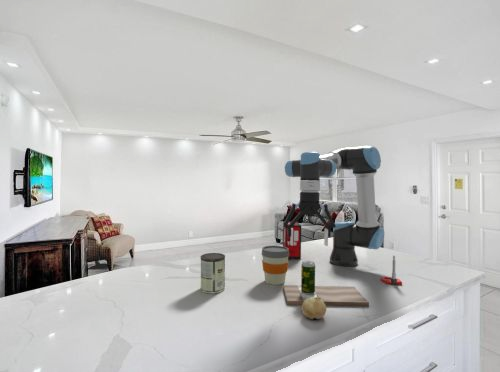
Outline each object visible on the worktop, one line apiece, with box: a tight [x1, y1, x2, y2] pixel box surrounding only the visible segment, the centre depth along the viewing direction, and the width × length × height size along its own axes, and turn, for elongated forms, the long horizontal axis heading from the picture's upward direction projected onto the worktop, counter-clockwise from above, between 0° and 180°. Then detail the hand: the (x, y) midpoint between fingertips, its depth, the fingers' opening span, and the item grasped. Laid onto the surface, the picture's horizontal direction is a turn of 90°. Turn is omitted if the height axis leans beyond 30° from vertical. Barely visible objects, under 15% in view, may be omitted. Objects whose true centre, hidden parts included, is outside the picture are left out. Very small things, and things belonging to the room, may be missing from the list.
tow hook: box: [380, 255, 403, 286], centre depth 135 cm, size 8×13×9 cm
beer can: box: [300, 260, 316, 295], centre depth 115 cm, size 5×5×12 cm
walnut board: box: [282, 284, 370, 307], centre depth 115 cm, size 16×30×2 cm, turn 89°
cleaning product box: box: [282, 220, 302, 261], centre depth 178 cm, size 16×9×20 cm, turn 179°
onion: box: [301, 294, 327, 321], centre depth 98 cm, size 8×8×7 cm
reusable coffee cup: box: [261, 245, 289, 286], centre depth 132 cm, size 12×13×15 cm
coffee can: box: [200, 252, 226, 294], centre depth 122 cm, size 10×10×14 cm
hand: (308, 245), depth 115 cm, fingers open, 13 cm apart
